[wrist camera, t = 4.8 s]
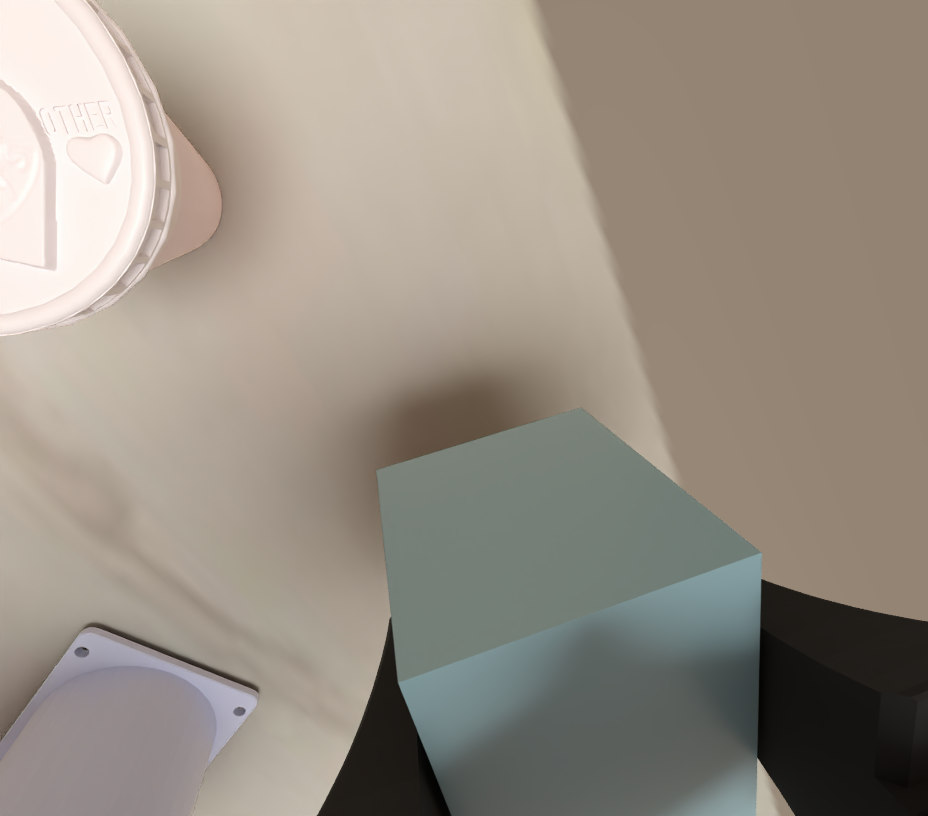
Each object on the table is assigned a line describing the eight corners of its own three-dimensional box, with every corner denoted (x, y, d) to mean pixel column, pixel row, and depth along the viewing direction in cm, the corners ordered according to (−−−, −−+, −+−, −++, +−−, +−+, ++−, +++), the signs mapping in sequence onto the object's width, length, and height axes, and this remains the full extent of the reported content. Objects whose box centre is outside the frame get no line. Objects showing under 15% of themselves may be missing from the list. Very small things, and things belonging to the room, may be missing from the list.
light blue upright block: (612, 630, 17) (755, 852, 11) (451, 689, 16) (509, 959, 10) (581, 407, 14) (761, 552, 8) (376, 470, 13) (398, 682, 7)
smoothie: (153, 329, 17) (-460, 563, 4) (-1, 156, 15) (-2250, -431, 2) (303, 230, 17) (137, 165, 4) (171, 41, 15) (-1006, -1274, 2)
